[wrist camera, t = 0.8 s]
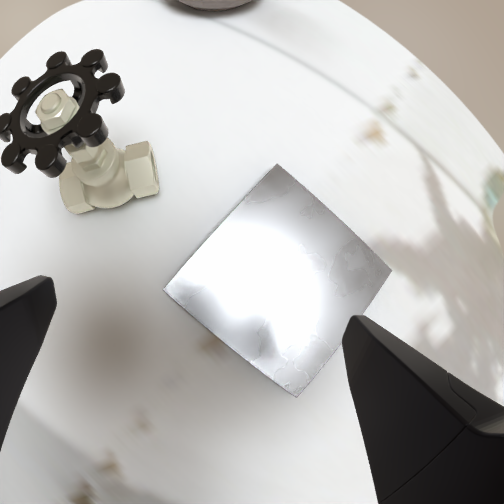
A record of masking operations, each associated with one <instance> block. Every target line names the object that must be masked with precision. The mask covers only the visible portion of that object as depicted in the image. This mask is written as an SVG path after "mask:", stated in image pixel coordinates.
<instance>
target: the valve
mask: <svg viewBox="0 0 504 504" xmlns="http://www.w3.org/2000/svg"><path fill="white" fill-rule="evenodd" d="M46 66H47V71H46V72H45V74H43V75H42V76H41V77H39V78H38V79H37V80H35V81H31V79H30V78H29V77H22V78H20V79H19V80H18V81H17V82H16V83H15V84H14V85H13V87H12V95H13V96H14V97H15V98H16V99H17V100H18V103H17V105H16V107H15V109H14V110H13V111H12V112H11V113H10V114H9V113H4V114H2V115H1V116H0V139H1V140H3V141H4V142H10V134H12V136H13V141H12V143H11V144H9V145H8V146H7V147H6V148H5V149H4V151H3V153H2V156H1V162H2V165H3V166H4V167H6V168H7V169H9V170H10V171H11V172H13V173H15V174H19V173H21V172H23V171H24V170H25V169H26V168H27V166H26V165H25V164H24V163H23V161H24V158H25V157H26V155H27V154H29V153H31V154H36V158H35V165H36V167H37V168H38V169H39V170H40V171H41V172H43V173H44V174H45V175H46V176H48V177H50V178H54V177H57V176H59V175H60V176H59V187H60V193H61V197H62V200H63V202H64V205H65V206H66V208H67V209H68V210H69V211H70V212H72V213H74V214H80V213H83V212H87V211H90V210H94V209H95V206H96V207H99V208H114V207H117V206H120V205H122V204H124V203H126V202H127V201H128V200H130V199H131V198H132V197H133V196H134V195H135V196H136V198H141V197H145V196H150V195H154V194H158V191H159V182H158V174H157V168H156V163H155V158H154V154H153V150H152V147H151V144H150V143H149V142H148V141H144V142H140V143H136V144H132V145H128V146H126V151H125V150H122V149H118V148H116V147H115V146H114V144H113V143H112V141H111V140H110V139H108V138H107V136H108V128H107V126H106V125H105V123H104V121H103V119H102V117H101V116H100V115H98V114H96V111H97V108H98V105H99V101H101V100H103V99H110V101H111V103H112V104H114V103H117V102H118V101H120V100H121V99H122V97H123V96H124V93H125V89H124V86H123V84H122V81H121V78H120V76H119V75H118V74H116V73H107V74H105V75H103V76H102V77H100V78H99V79H98V78H95V76H94V74H95V72H96V71H97V70H99V71H101V72H102V73H104V72H105V71H106V70H107V67H108V64H107V61H106V59H105V56H104V53H103V51H102V50H99V49H94V50H91V51H89V52H87V53H86V54H85V55H84V56H83V57H82V59H81V62H80V63H78V64H76V65H72V64H71V62H70V60H69V58H68V56H67V54H66V53H65V52H62V51H61V52H57V53H55V54H53V55H52V56H51V57H50V58H49V59H48V61H47V63H46ZM68 80H71V82H72V84H73V85H74V94H73V96H72V97H69V96H68V95H67V94H66V93H65V91H64V90H63V89H58V90H55V91H52V92H50V93H48V94H46V95H45V96H44V97H43V98H42V100H41V101H40V103H39V105H38V107H37V109H36V111H35V113H36V114H37V116H38V117H39V119H40V121H41V124H40V125H33V124H31V123H30V122H29V121H28V120H27V119H26V117H27V114H28V111H29V109H30V107H31V106H32V104H33V102H34V101H35V100H36V99H37V97H38V96H39V95H40V94H41V93H42V92H44V91H45V90H46V89H48V88H49V87H51V86H52V85H54V84H56V83H59V82H62V81H68ZM63 147H64V148H65V149H66V150H67V152H68V153H69V154H70V156H71V157H72V160H71V162H69V163H66V162H67V161H66V160H65V159H64V158H63V157H62V152H61V148H63Z"/></svg>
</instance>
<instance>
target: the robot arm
mask: <svg viewBox="0 0 504 504" xmlns="http://www.w3.org/2000/svg"><path fill="white" fill-rule="evenodd" d="M56 306H57V299H56V294H55V288H54V283H53V280H52V278H51V277H47V276H42V275H40V276H37V277H34V278H32V279H29V280H27V281H24V282H22V283H19V284H16V285H14V286H11V287H9V288H6V289H4V290H1V291H0V451H1V448H2V444H3V441H4V438H5V435H6V432H7V429H8V426H9V423H10V420H11V418H12V415H13V412H14V409H15V407H16V404H17V402H18V399H19V397H20V394H21V392H22V389H23V387H24V384H25V382H26V380H27V377H28V375H29V373H30V370H31V368H32V366H33V364H34V362H35V359H36V357H37V355H38V353H39V351H40V348H41V346H42V343H43V341H44V338H45V335H46V333H47V330H48V327H49V325H50V322H51V320H52V317H53V314H54V312H55V309H56ZM342 347H343V352H344V358H345V364H346V370H347V377H348V382H349V387H350V391H351V394H352V398H353V401H354V405H355V409H356V413H357V416H358V420H359V424H360V428H361V432H362V436H363V440H364V444H365V448H366V452H367V456H368V460H369V464H370V469H371V473H372V477H373V482H374V486H375V491H376V495H377V500H378V504H504V407H503V406H502V405H500V404H498V403H497V402H495V401H493V400H492V399H490V398H488V397H486V396H485V395H483V394H481V393H480V392H478V391H476V390H475V389H473V388H472V387H470V386H468V385H467V384H465V383H464V382H462V381H461V380H459V379H458V378H456V377H455V376H453V375H452V374H450V373H447V371H446V370H445V369H443V368H442V367H440V366H439V365H437V364H436V363H434V362H433V361H431V360H430V359H428V358H427V357H425V356H424V355H423V354H421V353H420V352H418V351H417V350H415V349H414V348H412V347H411V346H409V345H408V344H406V343H405V342H403V341H402V340H400V339H399V338H397V337H396V336H394V335H393V334H392V333H390V332H389V331H387V330H386V329H384V328H383V327H381V326H380V325H378V324H377V323H375V322H374V321H372V320H371V319H369V318H368V317H366V316H364V315H353V316H351V317H350V319H349V322H348V324H347V327H346V329H345V331H344V334H343V337H342Z"/></svg>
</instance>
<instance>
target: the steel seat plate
mask: <svg viewBox="0 0 504 504" xmlns="http://www.w3.org/2000/svg"><path fill="white" fill-rule="evenodd" d="M391 272H392V270H391V269H390V268H389V267H388V266H387V265H386V264H385V263H384V262H383V261H382V260H381V259H380V258H379V257H378V256H377V255H376V254H375V253H374V252H373V251H372V250H371V249H370V248H369V247H368V246H367V245H366V244H365V243H364V242H363V241H362V240H361V239H360V238H359V237H358V236H357V235H356V234H355V233H354V232H353V231H352V230H351V229H350V228H349V227H348V226H347V225H346V224H345V223H343V222H342V221H341V220H340V219H339V218H338V217H337V216H336V215H335V214H334V213H333V212H332V211H331V210H329V209H328V208H327V207H326V206H325V205H324V204H323V203H322V202H321V201H320V200H318V199H317V198H316V197H315V196H314V195H313V194H312V193H311V192H310V191H308V190H307V189H306V188H305V187H304V186H303V185H302V184H300V183H299V182H298V181H297V180H296V179H295V178H294V177H292V176H291V175H290V174H289V173H288V172H287V171H285V170H284V169H283V168H282V167H281V166H279V165H278V164H276V165H275V166H274V167H273V169H272V170H271V171H270V172H269V173H268V174H267V175H266V176H265V177H264V178H263V179H262V180H261V181H260V182H259V183H258V184H257V185H256V186H255V188H254V189H253V190H252V191H251V192H250V193H249V194H248V195H247V196H246V197H245V198H244V199H243V200H242V201H241V203H240V204H239V205H238V206H237V207H236V208H235V209H234V210H233V211H232V212H231V213H230V214H229V216H228V217H227V218H226V219H225V220H224V221H223V222H222V223H221V224H220V225H219V227H218V228H217V229H216V230H215V231H214V232H213V233H212V234H211V235H210V237H209V238H208V239H207V240H206V241H205V242H204V243H203V244H202V245H201V247H200V248H199V249H198V250H197V251H196V252H195V253H194V254H193V256H192V257H191V258H190V259H189V260H188V261H187V262H186V264H185V265H184V266H183V267H182V268H181V269H180V270H179V272H178V273H177V274H176V275H175V276H174V277H173V278H172V280H171V281H170V282H169V283H168V284H167V285H166V287H165V288H164V289H163V290H164V291H165V292H166V293H167V294H168V295H169V296H171V297H172V298H173V299H174V300H175V301H176V302H177V303H178V304H180V305H181V306H182V307H183V308H184V309H185V310H186V311H188V312H189V313H190V314H191V315H192V316H193V317H194V318H196V319H197V320H198V321H199V322H200V323H201V324H203V325H204V326H205V327H206V328H207V329H209V330H210V331H211V332H212V333H213V334H215V335H216V336H217V337H218V338H219V339H221V340H222V341H223V342H224V343H225V344H227V345H228V346H229V347H230V348H232V349H233V350H234V351H235V352H237V353H238V354H239V355H240V356H242V357H243V358H244V359H245V360H247V361H248V362H249V363H251V364H252V365H253V366H254V367H256V368H257V369H258V370H260V371H261V372H262V373H264V374H265V375H266V376H268V377H269V378H270V379H272V380H273V381H274V382H276V383H277V384H278V385H280V386H281V387H282V388H284V389H285V390H286V391H288V392H289V393H291V394H292V395H293V396H295V397H296V398H297V397H298V396H299V395H300V393H301V392H302V391H303V390H304V389H305V388H306V386H307V385H308V384H309V383H310V382H311V380H312V379H313V378H314V377H315V376H316V374H317V373H318V372H319V371H320V370H321V368H322V367H323V366H324V365H325V363H326V362H327V361H328V360H329V358H330V357H331V356H332V355H333V353H334V352H335V351H336V349H337V348H338V347H339V346H340V344H341V343H342V337H343V334H344V331H345V329H346V327H347V324H348V322H349V319H350V317H351V316H353V315H363V313H364V312H365V310H366V309H367V307H368V306H369V305H370V303H371V302H372V300H373V299H374V297H375V296H376V294H377V293H378V291H379V290H380V288H381V287H382V285H383V284H384V282H385V281H386V279H387V278H388V276H389V275H390V273H391Z"/></svg>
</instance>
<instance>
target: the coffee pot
mask: <svg viewBox="0 0 504 504" xmlns="http://www.w3.org/2000/svg"><path fill="white" fill-rule="evenodd" d="M178 1H180V2H182V3H184V4H187V5H188V6H190V7H193V8H196V9H200V10H206V11H220V10H228V9H232V8H235V7H238V6H240V5H242V4H245V3H247V2H250V1H252V0H178Z"/></svg>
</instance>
